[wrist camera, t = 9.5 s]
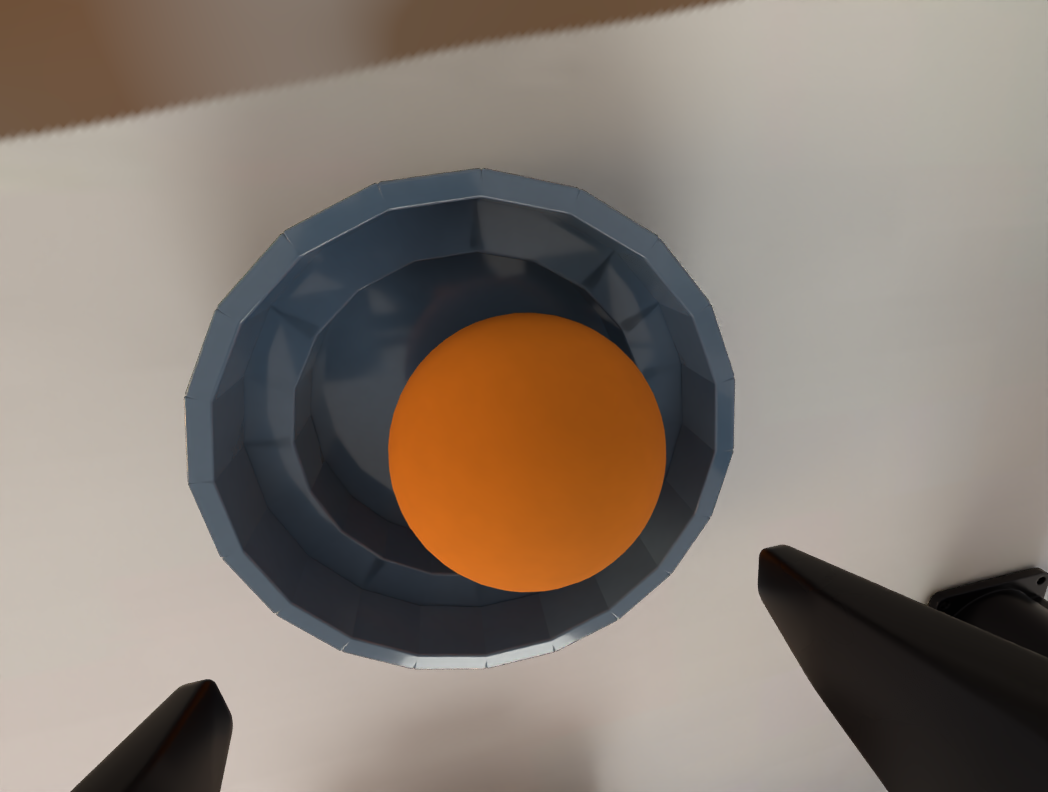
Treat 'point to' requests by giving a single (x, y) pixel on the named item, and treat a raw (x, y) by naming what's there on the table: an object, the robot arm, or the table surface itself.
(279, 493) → the bowl
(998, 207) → the table surface
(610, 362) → the orange
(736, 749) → the table surface
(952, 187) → the table surface
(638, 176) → the table surface
